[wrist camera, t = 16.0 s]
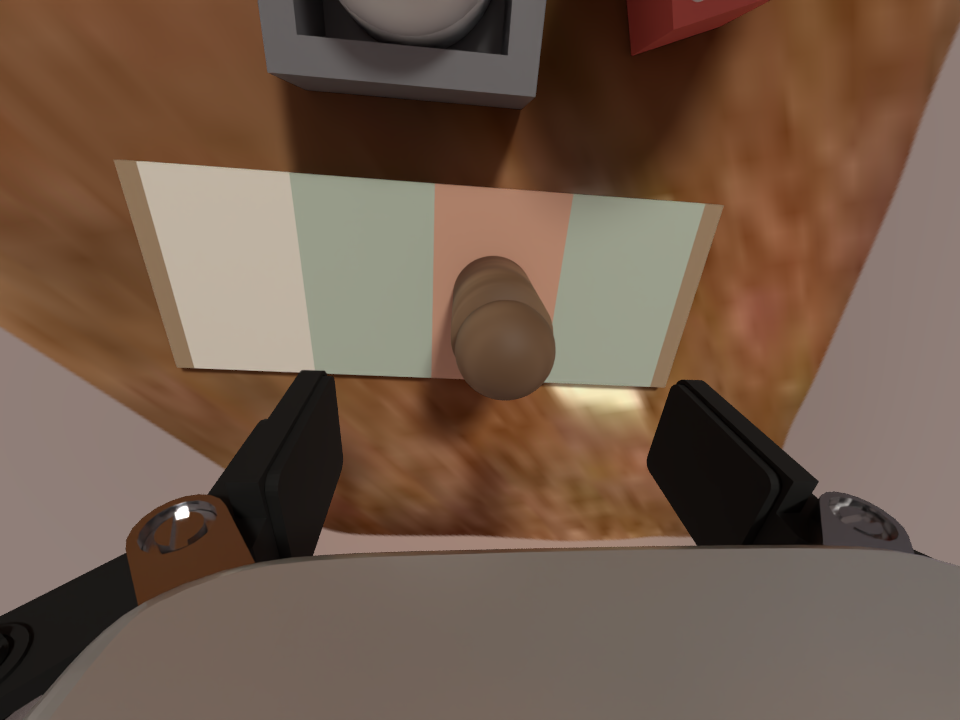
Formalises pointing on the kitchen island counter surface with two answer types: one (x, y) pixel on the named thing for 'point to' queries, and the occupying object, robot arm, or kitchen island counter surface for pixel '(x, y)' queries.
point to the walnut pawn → (500, 330)
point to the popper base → (406, 55)
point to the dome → (417, 20)
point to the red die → (679, 19)
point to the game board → (405, 270)
